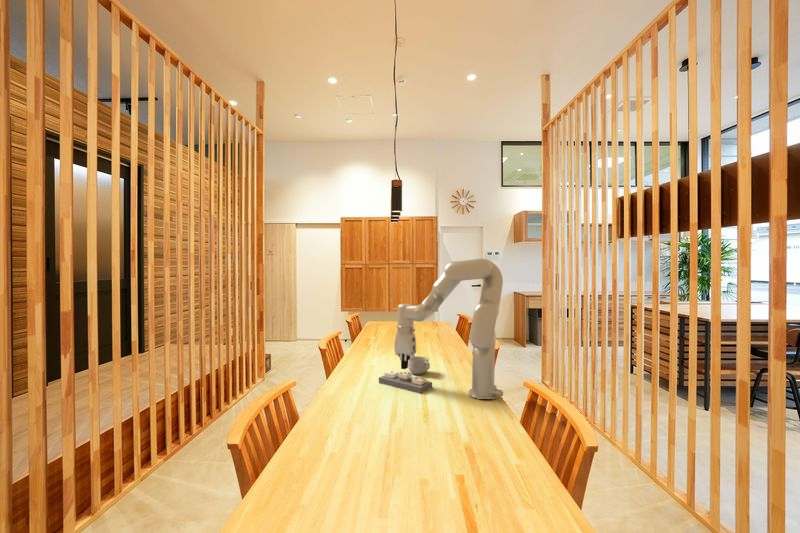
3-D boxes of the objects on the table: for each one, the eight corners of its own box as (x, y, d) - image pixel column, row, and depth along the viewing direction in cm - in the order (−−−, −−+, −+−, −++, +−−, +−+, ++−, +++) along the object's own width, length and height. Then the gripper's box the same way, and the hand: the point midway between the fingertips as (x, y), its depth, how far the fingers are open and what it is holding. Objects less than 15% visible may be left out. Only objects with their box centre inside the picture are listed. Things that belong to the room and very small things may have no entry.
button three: (412, 381, 175) (412, 372, 175) (406, 384, 171) (406, 374, 171) (403, 379, 178) (403, 370, 178) (398, 382, 174) (398, 373, 174)
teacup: (404, 371, 196) (404, 356, 196) (422, 369, 201) (422, 354, 201) (416, 379, 184) (416, 363, 184) (435, 376, 188) (435, 360, 188)
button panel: (432, 387, 172) (432, 382, 172) (420, 393, 164) (420, 388, 164) (391, 377, 186) (391, 372, 186) (378, 382, 178) (378, 377, 178)
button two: (426, 387, 171) (426, 378, 170) (420, 390, 167) (420, 380, 167) (417, 385, 173) (417, 376, 173) (411, 388, 169) (412, 378, 169)
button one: (398, 380, 180) (398, 371, 180) (392, 383, 176) (392, 374, 176) (390, 378, 183) (390, 370, 183) (384, 381, 179) (384, 372, 179)
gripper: (422, 330, 173) (422, 369, 173) (397, 326, 182) (396, 363, 182) (414, 333, 167) (413, 373, 167) (387, 329, 176) (387, 367, 176)
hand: (404, 368), depth 175 cm, fingers closed
